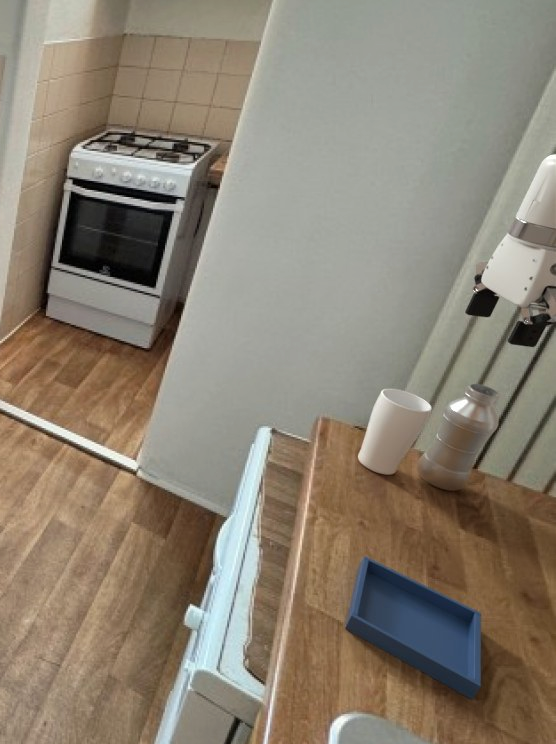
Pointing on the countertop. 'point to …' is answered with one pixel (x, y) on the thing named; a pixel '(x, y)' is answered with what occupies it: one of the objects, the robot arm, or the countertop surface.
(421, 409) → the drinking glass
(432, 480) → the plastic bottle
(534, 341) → the robot arm
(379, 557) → the countertop surface
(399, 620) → the blue tray
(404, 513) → the countertop surface
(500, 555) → the countertop surface
